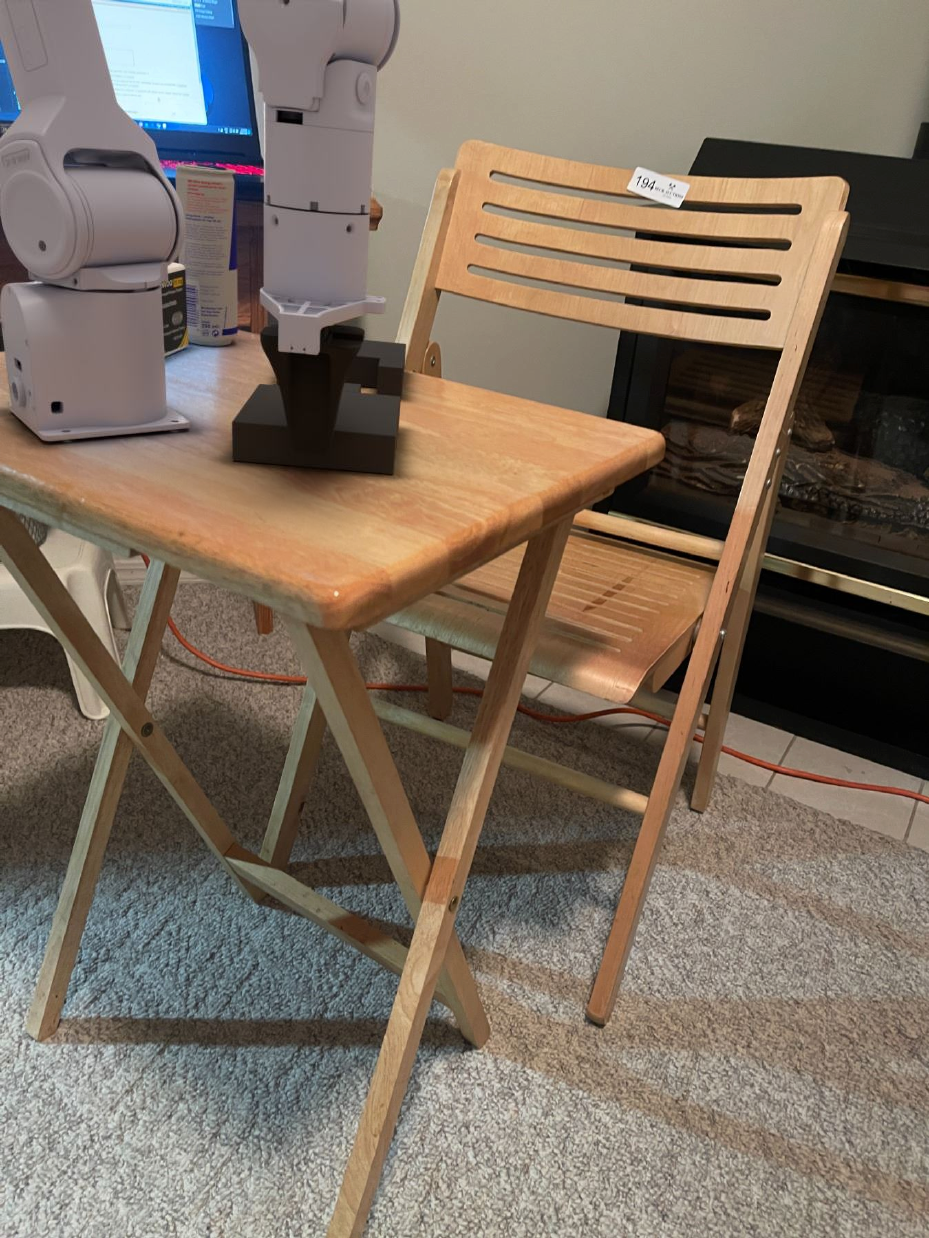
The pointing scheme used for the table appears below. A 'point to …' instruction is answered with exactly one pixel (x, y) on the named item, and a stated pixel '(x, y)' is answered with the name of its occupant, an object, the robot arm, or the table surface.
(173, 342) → the black printed box
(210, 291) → the beverage can
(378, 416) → the loose pad
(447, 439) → the table surface
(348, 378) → the pad
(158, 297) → the robot arm
